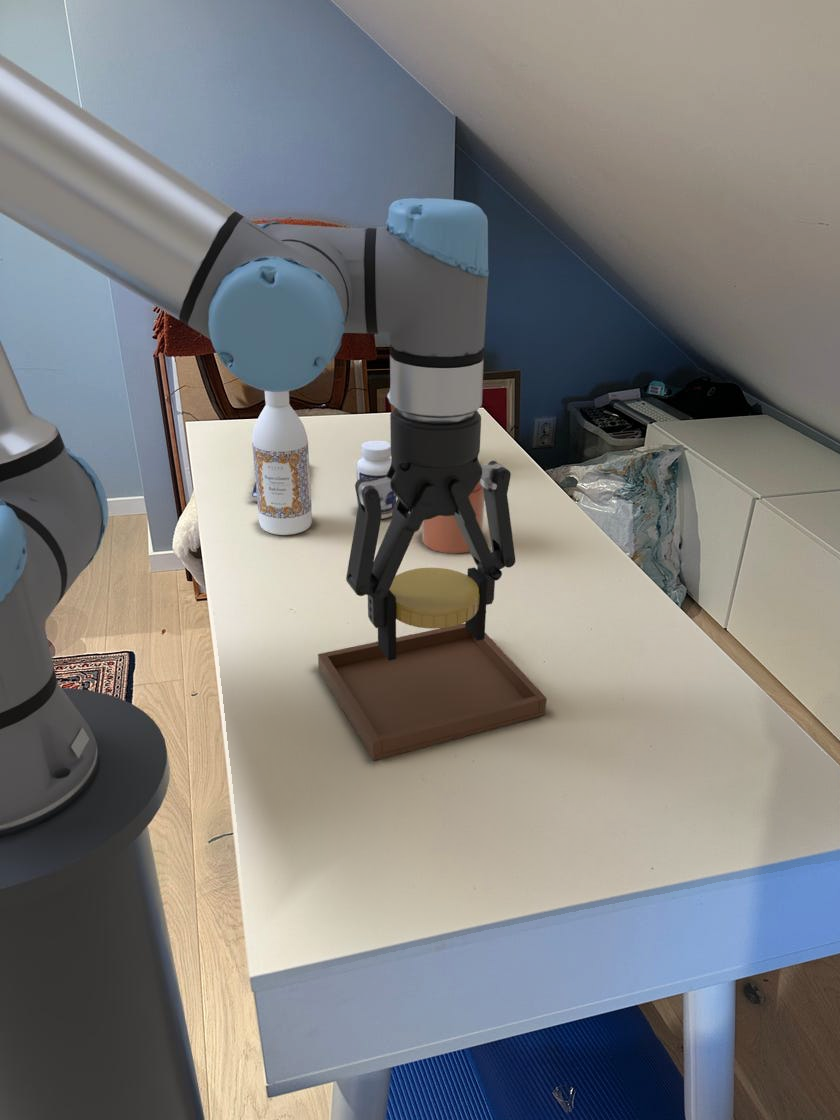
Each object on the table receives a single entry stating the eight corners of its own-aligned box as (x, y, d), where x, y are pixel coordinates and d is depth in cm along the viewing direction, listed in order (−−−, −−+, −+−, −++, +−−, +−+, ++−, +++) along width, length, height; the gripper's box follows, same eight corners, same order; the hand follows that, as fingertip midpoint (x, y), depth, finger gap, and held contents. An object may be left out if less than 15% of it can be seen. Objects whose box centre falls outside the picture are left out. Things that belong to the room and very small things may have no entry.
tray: (373, 760, 79) (373, 743, 78) (318, 670, 90) (317, 653, 89) (545, 715, 86) (547, 698, 85) (473, 636, 98) (474, 621, 97)
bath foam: (253, 534, 117) (239, 381, 106) (266, 513, 123) (254, 366, 112) (306, 538, 117) (297, 385, 106) (316, 516, 123) (309, 370, 112)
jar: (436, 557, 114) (438, 487, 109) (412, 532, 120) (413, 465, 115) (492, 548, 117) (496, 479, 112) (466, 524, 123) (469, 458, 118)
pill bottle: (402, 516, 124) (402, 449, 119) (366, 522, 122) (364, 453, 117) (387, 502, 128) (387, 436, 123) (352, 507, 126) (350, 440, 121)
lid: (372, 593, 84) (372, 576, 84) (454, 577, 88) (455, 561, 87) (407, 636, 78) (407, 619, 77) (494, 618, 82) (495, 600, 81)
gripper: (526, 385, 80) (511, 604, 92) (296, 408, 72) (312, 646, 84) (569, 409, 75) (547, 639, 87) (326, 437, 66) (338, 688, 78)
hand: (431, 642), depth 85 cm, fingers closed on lid, 8 cm apart
